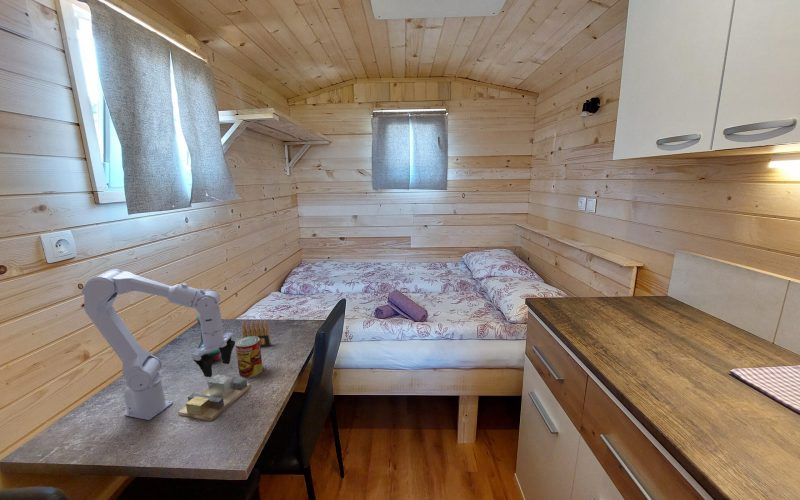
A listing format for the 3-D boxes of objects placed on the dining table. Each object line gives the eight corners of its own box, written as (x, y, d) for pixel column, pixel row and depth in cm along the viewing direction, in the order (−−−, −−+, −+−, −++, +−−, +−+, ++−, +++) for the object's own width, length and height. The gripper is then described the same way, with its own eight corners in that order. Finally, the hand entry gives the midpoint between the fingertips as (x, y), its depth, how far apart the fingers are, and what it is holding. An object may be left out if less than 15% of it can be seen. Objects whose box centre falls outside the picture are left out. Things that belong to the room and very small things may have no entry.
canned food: (234, 375, 120) (230, 344, 117) (250, 364, 127) (247, 334, 125) (251, 379, 117) (247, 347, 115) (267, 367, 124) (264, 337, 122)
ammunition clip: (270, 344, 142) (268, 318, 140) (269, 346, 141) (267, 319, 138) (244, 346, 141) (241, 319, 138) (243, 348, 139) (239, 321, 137)
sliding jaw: (179, 411, 99) (177, 402, 99) (194, 400, 105) (192, 390, 104) (210, 417, 97) (208, 407, 96) (224, 405, 102) (222, 395, 101)
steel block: (225, 398, 106) (223, 384, 104) (209, 395, 107) (207, 381, 106) (234, 390, 109) (232, 376, 108) (218, 388, 111) (217, 374, 110)
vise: (178, 414, 100) (176, 404, 99) (220, 381, 116) (219, 372, 115) (212, 420, 97) (210, 410, 96) (250, 386, 113) (249, 377, 112)
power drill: (205, 373, 121) (198, 321, 117) (196, 356, 133) (189, 309, 129) (227, 365, 126) (220, 316, 122) (216, 350, 138) (210, 304, 134)
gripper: (204, 341, 96) (210, 384, 99) (239, 321, 110) (244, 359, 112) (184, 339, 98) (190, 381, 100) (221, 319, 111) (226, 356, 114)
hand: (217, 369), depth 106 cm, fingers open, 7 cm apart
